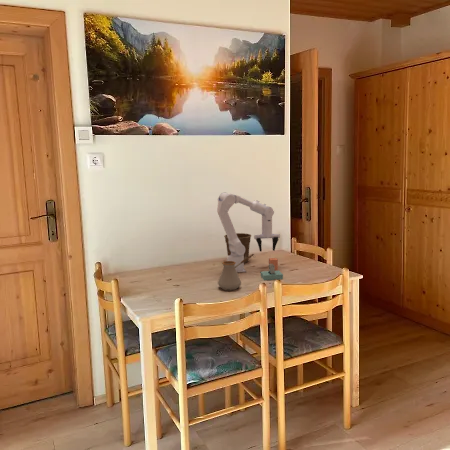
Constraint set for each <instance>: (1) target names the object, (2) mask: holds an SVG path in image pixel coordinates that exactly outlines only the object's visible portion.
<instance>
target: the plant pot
mask: <svg viewBox="0 0 450 450" xmlns="http://www.w3.org/2000/svg"><path fill="white" fill-rule="evenodd" d="M236 234H237V237H238V239H239V240H240V241H241V243H242V245H243V246H244V247H245V253H244V259H245V258H247V257H249V256H250V243H251V237H252V234H249V233H245V232H244V233H243V232H241V233H240V232H236ZM223 236H224V239H225V244H226V251H227V252H226V253H227V256H229V255H231V251H230V250H229V243H228V241H229V239H228V237H227V234H225V235H223ZM249 259H250V258H249ZM249 259H248V260H247V261H245V262H244V264H245V263H248V262H249V261H250V260H249Z"/></svg>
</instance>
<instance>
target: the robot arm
mask: <svg viewBox="0 0 450 450" xmlns="http://www.w3.org/2000/svg"><path fill="white" fill-rule="evenodd" d="M234 204H240V205H243V206H246V207H249V209H250V211H252V212H255V213H256V214H259V215H261V234H254V235H253V238H254V240H256V242H257V245H258V250H259V252H262V245H263V244H262V240H265V239H272V251H274V252H275V251H276V247H277V244H278V241H279V239H280V238H281V235H280V233H273V215H274V213H275V210H274V209H273V207H271V206H268V205H267V204H266V203H262V202H260V201H259V200H253V201H251V200H249V199H247V198H244V197H242V196H241V195H237V194H234V193H228V192H221V193H220V194H219V196H218V198H217V210H216V212H217V215H218V217H219V220H220V221H221V224H222V226H223V229H224V232H225V235H227V237H228V239H229V241H228V243H229V250H230V251H231V255H229V256H228V255H226V261H234V262H236V264H235V266H236V265H237V264H239V263H240V262H241V261H243V260H244V253H245V247H244V246H243V245H242V243H241V241H240V240H239V239H238V237H237V234H236V233H237V232H236V229H235V227H234V225H233V221H232V219H231V216H230V214H229V213H228V212H229V211H230V209H231V208H232V207H233V205H234ZM235 269H236V271H237V273H243V272H245V273H246V272H247V271H246V268H245V263H244V262H243V263H242V264H240V265H239V266H237V267H236V268H235Z"/></svg>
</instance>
